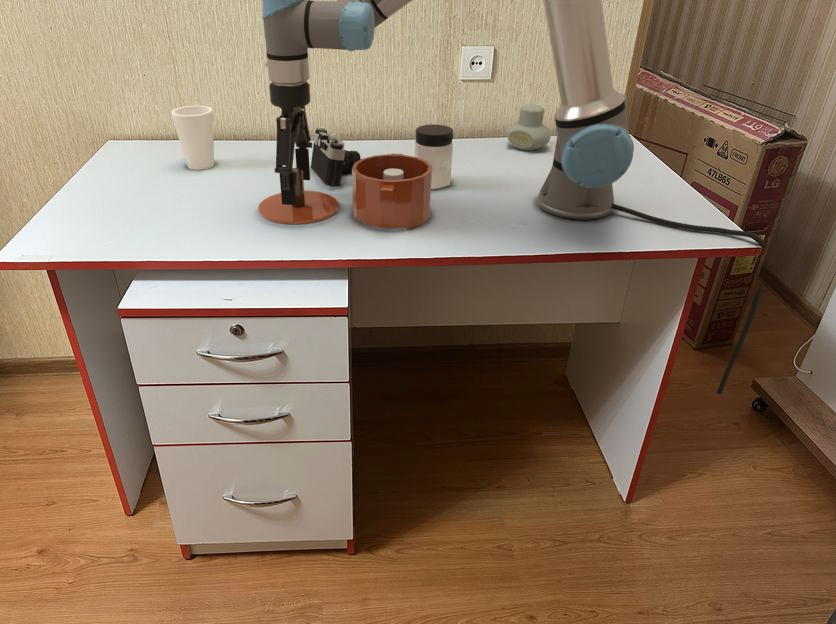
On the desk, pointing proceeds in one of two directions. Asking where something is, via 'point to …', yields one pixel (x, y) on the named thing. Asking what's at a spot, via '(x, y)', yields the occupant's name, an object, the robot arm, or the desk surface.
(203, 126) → the foam cup
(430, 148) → the jar
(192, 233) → the desk surface
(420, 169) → the pot
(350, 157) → the camera
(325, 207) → the lid
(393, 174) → the pill bottle
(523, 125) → the air freshener
